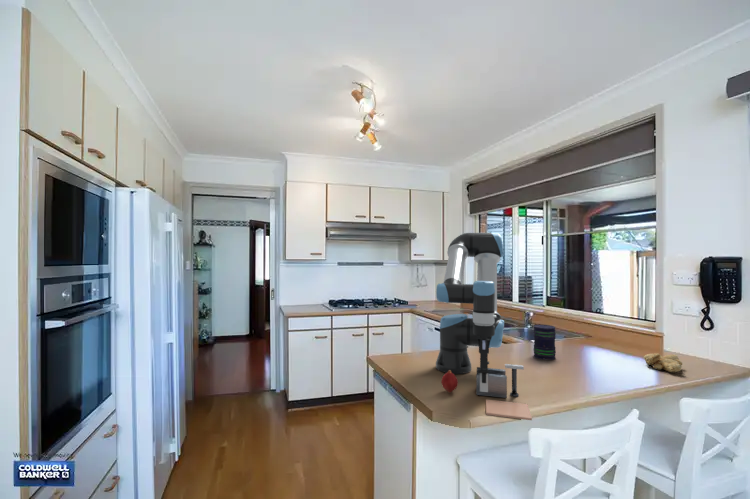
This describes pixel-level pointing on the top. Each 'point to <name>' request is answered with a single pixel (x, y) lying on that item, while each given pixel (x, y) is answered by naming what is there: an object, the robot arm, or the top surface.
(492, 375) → the c link
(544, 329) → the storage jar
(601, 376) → the top surface
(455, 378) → the onion
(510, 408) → the tile
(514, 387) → the post stand
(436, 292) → the robot arm
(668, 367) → the ginger root
